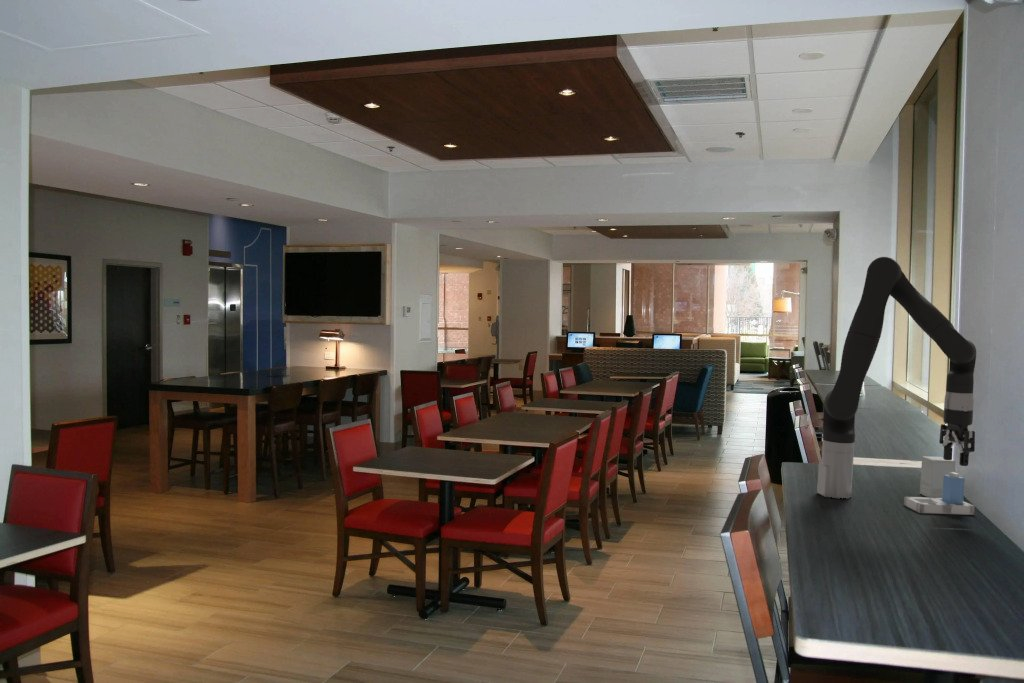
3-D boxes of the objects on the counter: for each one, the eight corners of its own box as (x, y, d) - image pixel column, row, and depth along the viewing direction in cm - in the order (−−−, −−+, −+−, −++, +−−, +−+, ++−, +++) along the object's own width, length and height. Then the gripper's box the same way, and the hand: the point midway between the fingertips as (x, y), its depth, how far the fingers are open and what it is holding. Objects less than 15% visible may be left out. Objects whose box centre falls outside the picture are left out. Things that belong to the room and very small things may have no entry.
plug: (948, 511, 245) (951, 474, 244) (941, 508, 249) (943, 471, 248) (962, 512, 245) (964, 474, 244) (954, 508, 249) (957, 471, 248)
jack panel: (919, 514, 242) (919, 503, 242) (903, 506, 251) (904, 496, 251) (973, 516, 242) (974, 505, 242) (956, 508, 251) (957, 497, 251)
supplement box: (953, 501, 261) (956, 461, 260) (929, 500, 261) (932, 460, 261) (942, 495, 269) (944, 456, 268) (918, 494, 269) (921, 455, 268)
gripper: (933, 404, 252) (930, 457, 253) (959, 410, 238) (956, 467, 239) (957, 405, 253) (954, 458, 253) (985, 411, 238) (982, 468, 239)
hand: (955, 462), depth 246 cm, fingers open, 8 cm apart
